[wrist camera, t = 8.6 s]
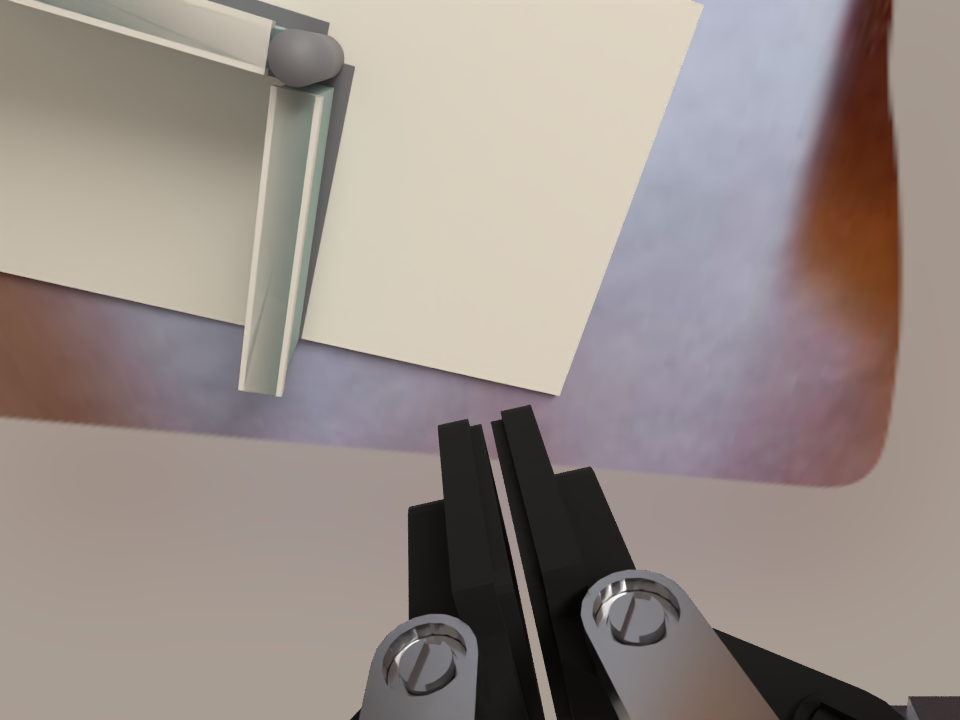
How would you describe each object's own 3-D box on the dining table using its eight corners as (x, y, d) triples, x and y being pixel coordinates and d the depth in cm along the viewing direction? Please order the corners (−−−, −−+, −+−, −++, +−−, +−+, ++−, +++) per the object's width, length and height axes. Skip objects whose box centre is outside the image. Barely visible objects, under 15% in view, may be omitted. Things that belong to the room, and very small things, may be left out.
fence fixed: (-12, -70, 24) (-166, -114, 18) (348, 41, 26) (327, 38, 20) (-12, -21, 25) (-161, -46, 18) (339, 84, 27) (317, 93, 21)
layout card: (-106, -281, 22) (-117, -288, 21) (700, 5, 27) (705, 5, 27) (-86, 248, 29) (-94, 251, 28) (557, 392, 34) (559, 396, 34)
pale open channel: (339, 89, 27) (321, 97, 22) (302, 341, 31) (281, 397, 26) (298, 79, 26) (270, 85, 21) (267, 335, 31) (238, 389, 26)
